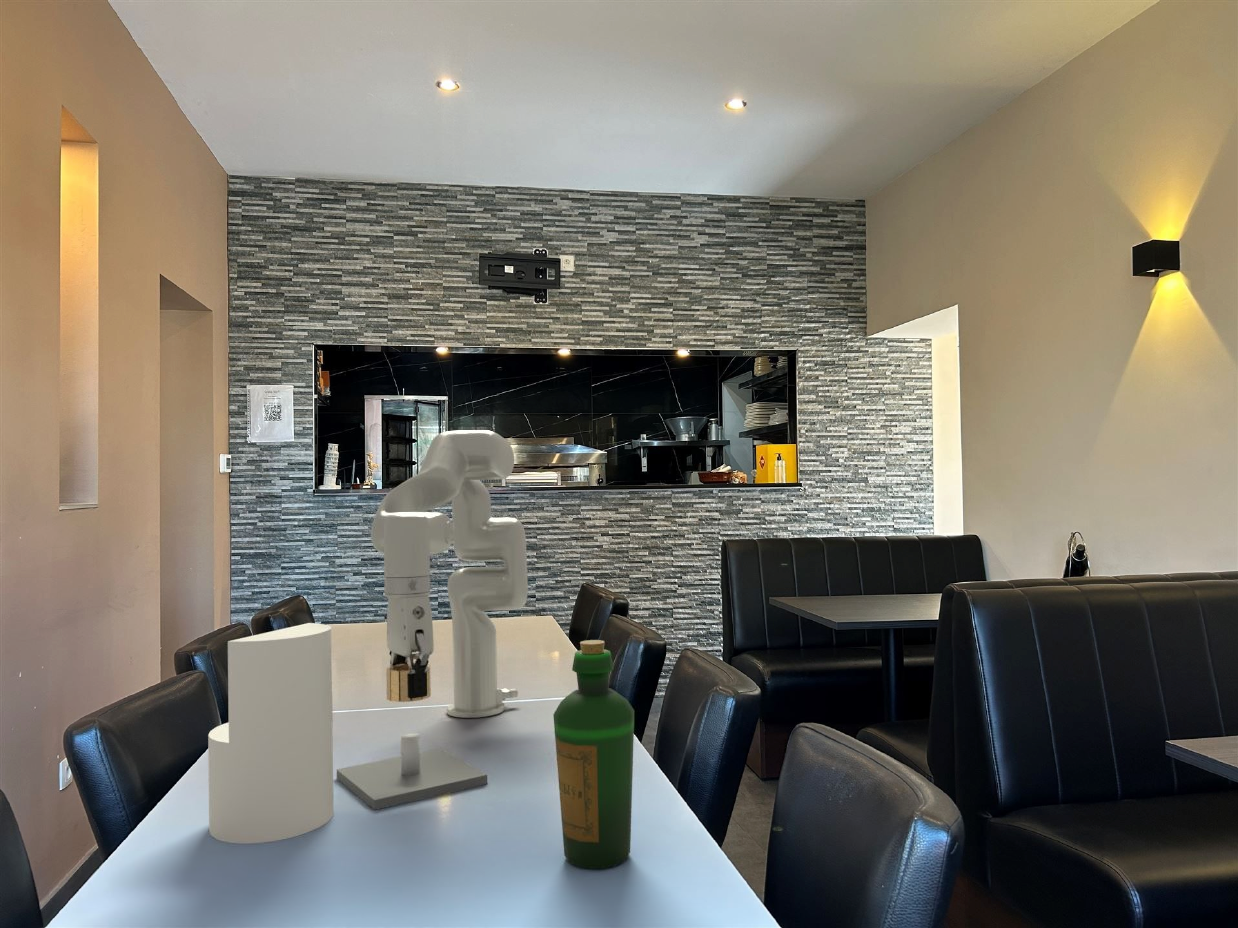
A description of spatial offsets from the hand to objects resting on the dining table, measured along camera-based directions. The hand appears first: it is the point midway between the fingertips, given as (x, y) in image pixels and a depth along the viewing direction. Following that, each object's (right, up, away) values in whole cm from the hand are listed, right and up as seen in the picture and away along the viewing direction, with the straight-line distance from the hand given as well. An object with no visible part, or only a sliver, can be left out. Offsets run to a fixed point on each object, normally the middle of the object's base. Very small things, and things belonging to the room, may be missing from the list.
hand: (408, 692), depth 147 cm
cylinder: (-16, -15, -16) cm, 28 cm away
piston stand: (0, -15, 0) cm, 15 cm away
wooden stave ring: (0, -1, 0) cm, 1 cm away
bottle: (+33, -13, -33) cm, 48 cm away
